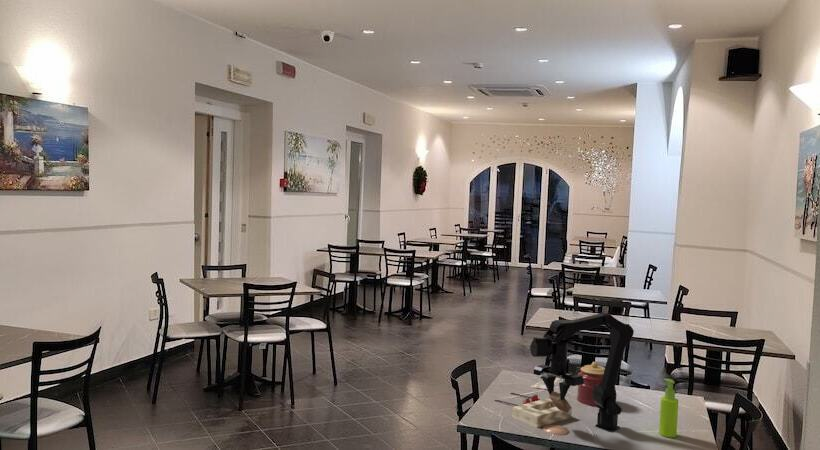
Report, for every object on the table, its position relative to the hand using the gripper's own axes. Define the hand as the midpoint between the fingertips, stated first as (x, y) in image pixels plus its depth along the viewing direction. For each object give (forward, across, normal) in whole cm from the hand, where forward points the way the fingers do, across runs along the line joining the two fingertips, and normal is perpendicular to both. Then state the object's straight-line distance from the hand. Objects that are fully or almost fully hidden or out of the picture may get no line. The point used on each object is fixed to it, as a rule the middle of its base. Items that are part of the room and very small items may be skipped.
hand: (557, 398), depth 232 cm
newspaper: (+13, +40, -41) cm, 59 cm away
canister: (+12, +13, -39) cm, 43 cm away
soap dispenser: (+12, -24, -34) cm, 43 cm away
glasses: (+13, +30, -10) cm, 34 cm away
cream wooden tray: (+12, +11, -5) cm, 17 cm away
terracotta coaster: (+12, 0, 0) cm, 12 cm away
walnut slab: (+2, 0, -1) cm, 3 cm away
